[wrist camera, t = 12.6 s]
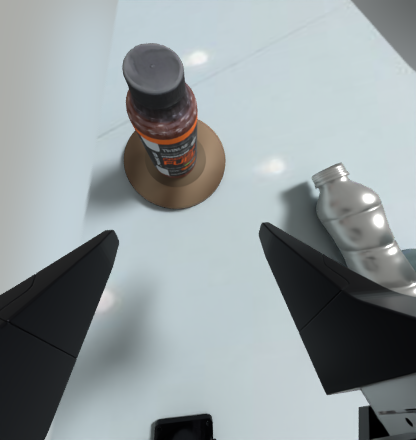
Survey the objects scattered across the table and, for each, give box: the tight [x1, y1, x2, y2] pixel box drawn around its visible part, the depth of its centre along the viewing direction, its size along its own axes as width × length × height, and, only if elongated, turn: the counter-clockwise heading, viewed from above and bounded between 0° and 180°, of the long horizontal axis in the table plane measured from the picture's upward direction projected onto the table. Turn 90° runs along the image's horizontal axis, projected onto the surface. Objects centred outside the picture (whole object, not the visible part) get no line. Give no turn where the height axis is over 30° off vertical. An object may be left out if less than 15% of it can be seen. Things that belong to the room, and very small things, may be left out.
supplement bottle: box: [122, 43, 198, 178], centre depth 15 cm, size 6×6×11 cm
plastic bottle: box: [311, 162, 416, 297], centre depth 19 cm, size 6×7×20 cm
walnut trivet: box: [124, 119, 225, 209], centre depth 22 cm, size 14×14×1 cm
